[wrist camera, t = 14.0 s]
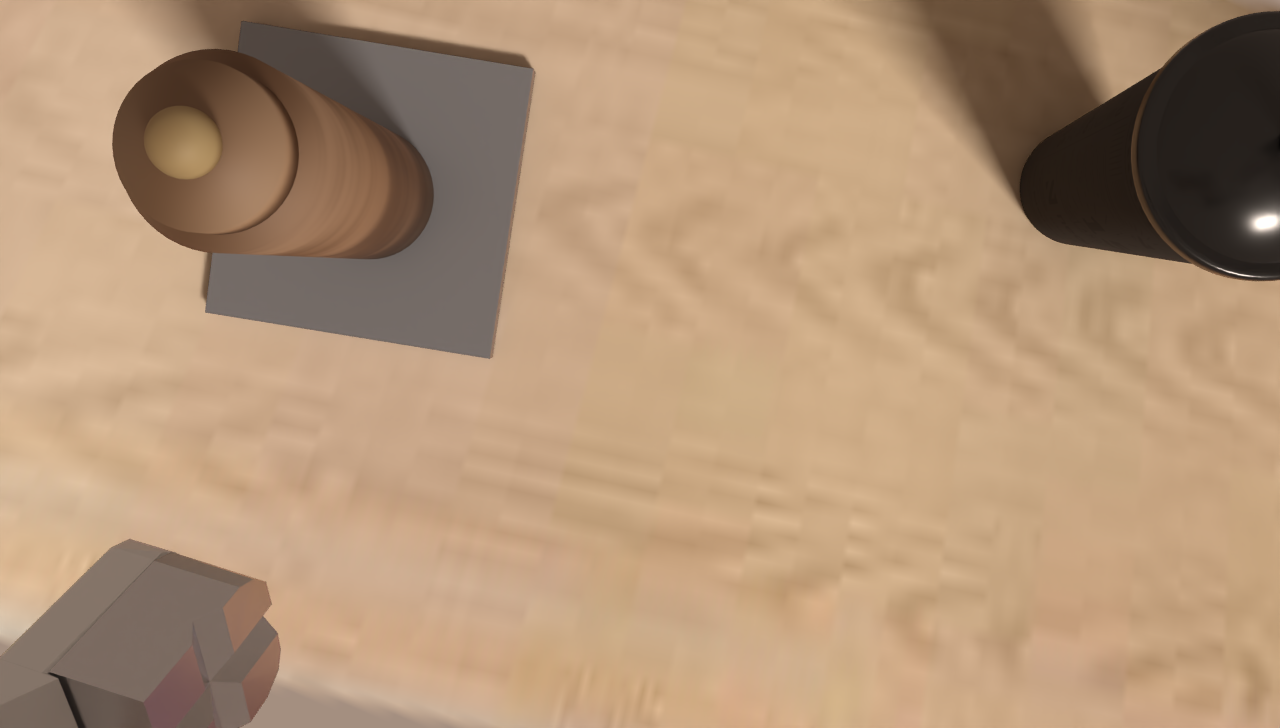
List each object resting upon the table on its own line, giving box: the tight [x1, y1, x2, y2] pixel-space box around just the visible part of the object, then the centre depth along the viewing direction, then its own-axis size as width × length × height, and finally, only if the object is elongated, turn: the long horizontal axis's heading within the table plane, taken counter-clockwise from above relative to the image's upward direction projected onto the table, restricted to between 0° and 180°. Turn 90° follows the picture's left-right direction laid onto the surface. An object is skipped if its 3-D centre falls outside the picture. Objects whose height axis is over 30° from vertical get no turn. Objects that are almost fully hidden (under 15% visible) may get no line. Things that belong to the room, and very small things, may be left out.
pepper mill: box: [112, 49, 434, 259], centre depth 34 cm, size 5×5×18 cm
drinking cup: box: [1020, 11, 1280, 281], centre depth 33 cm, size 8×8×20 cm
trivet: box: [205, 21, 535, 359], centre depth 43 cm, size 12×12×1 cm
